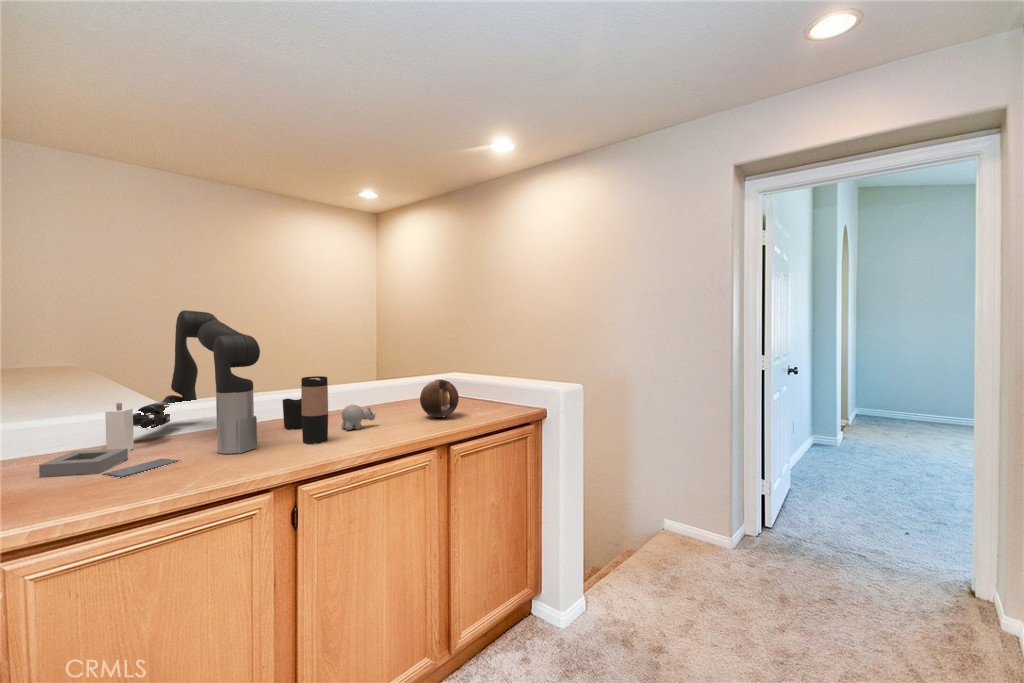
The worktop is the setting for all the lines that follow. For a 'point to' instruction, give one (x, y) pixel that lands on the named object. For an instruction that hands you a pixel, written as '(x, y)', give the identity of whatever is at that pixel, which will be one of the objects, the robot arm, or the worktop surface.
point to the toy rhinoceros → (356, 416)
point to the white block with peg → (119, 428)
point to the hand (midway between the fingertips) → (125, 425)
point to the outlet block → (83, 462)
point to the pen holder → (292, 413)
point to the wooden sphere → (439, 398)
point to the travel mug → (314, 409)
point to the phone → (140, 468)
